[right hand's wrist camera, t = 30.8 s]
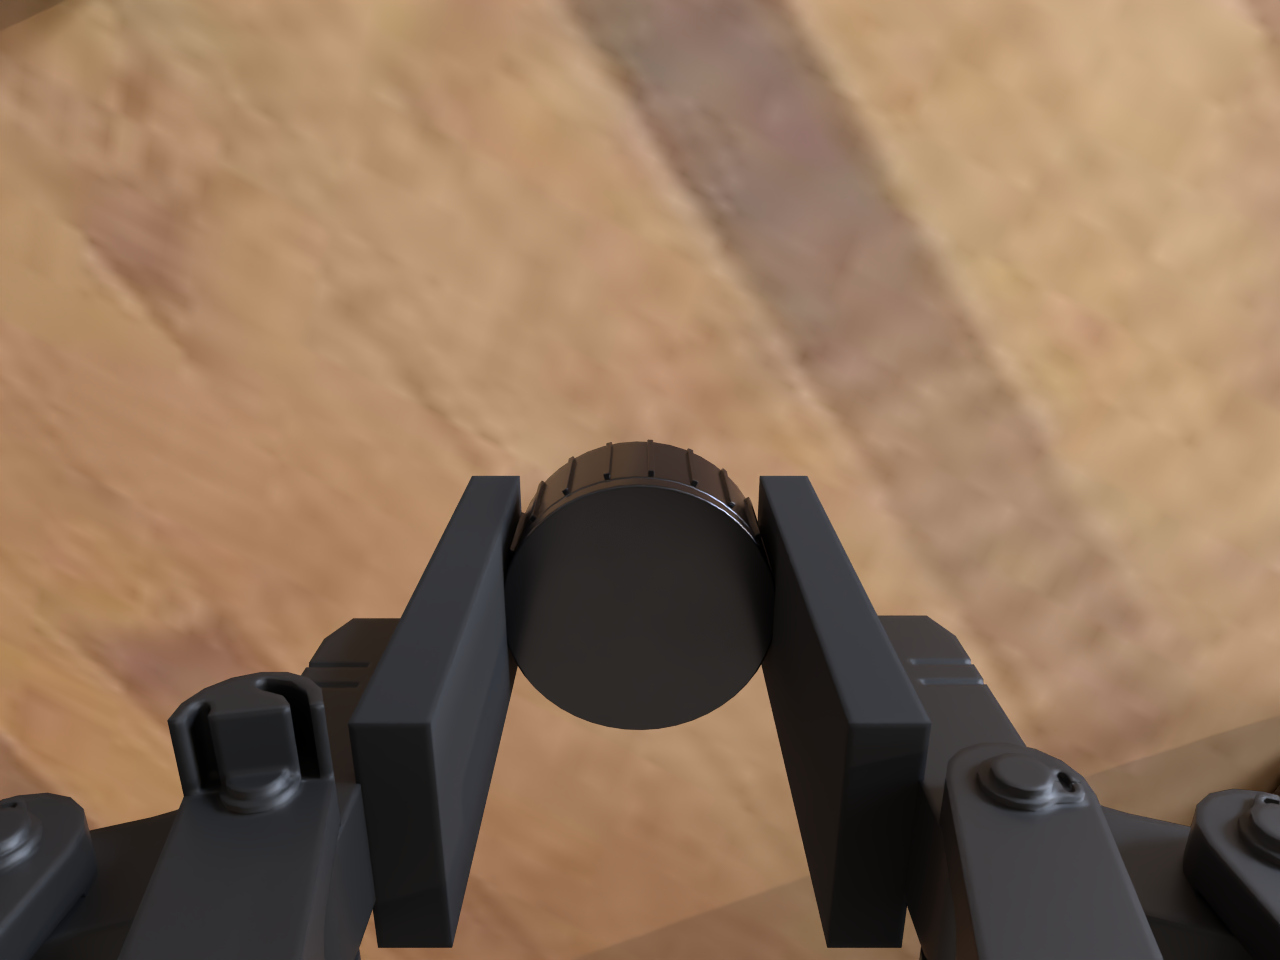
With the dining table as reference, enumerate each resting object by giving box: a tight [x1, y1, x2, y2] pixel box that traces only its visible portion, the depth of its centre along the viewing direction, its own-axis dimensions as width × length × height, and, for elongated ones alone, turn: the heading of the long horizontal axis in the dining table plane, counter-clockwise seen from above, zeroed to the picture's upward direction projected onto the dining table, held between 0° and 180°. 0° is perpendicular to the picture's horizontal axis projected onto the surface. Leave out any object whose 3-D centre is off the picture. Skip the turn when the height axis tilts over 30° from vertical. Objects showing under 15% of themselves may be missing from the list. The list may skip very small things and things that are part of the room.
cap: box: [504, 440, 775, 730], centre depth 14 cm, size 4×4×2 cm
